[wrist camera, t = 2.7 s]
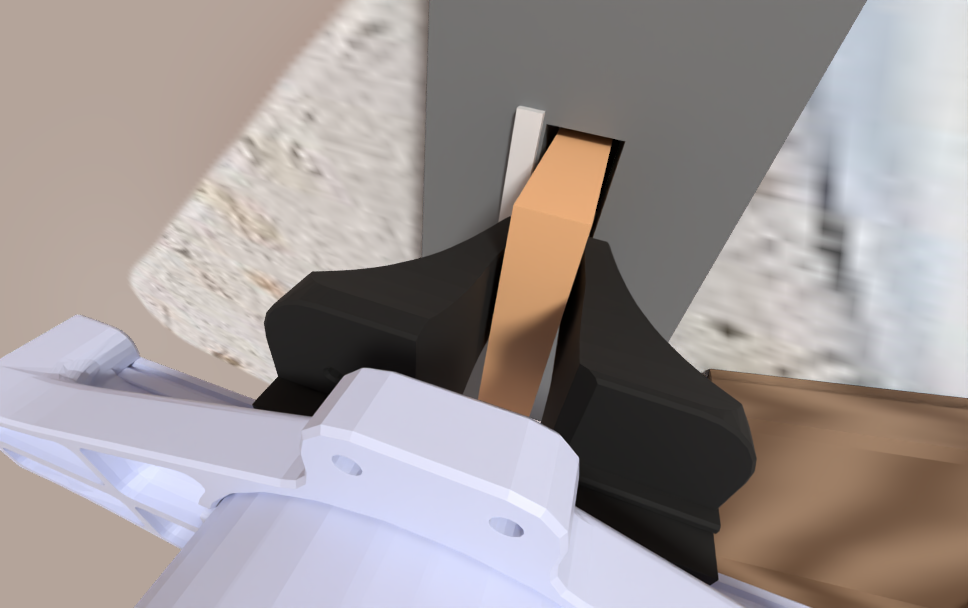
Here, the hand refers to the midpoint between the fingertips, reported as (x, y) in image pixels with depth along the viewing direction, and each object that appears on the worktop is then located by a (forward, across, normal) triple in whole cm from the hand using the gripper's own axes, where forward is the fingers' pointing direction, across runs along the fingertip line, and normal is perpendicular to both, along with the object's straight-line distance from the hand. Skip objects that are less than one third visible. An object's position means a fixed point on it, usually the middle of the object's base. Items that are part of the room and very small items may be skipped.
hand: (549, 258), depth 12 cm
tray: (+5, -18, +12) cm, 22 cm away
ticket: (+5, 0, 0) cm, 5 cm away
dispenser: (+5, 0, 0) cm, 5 cm away
